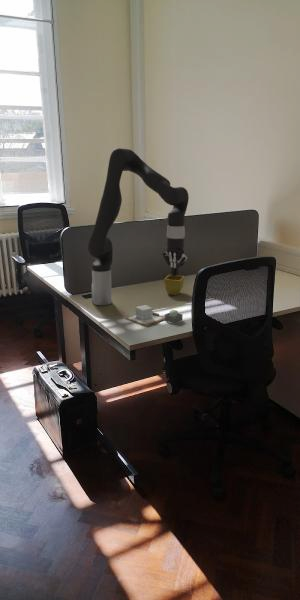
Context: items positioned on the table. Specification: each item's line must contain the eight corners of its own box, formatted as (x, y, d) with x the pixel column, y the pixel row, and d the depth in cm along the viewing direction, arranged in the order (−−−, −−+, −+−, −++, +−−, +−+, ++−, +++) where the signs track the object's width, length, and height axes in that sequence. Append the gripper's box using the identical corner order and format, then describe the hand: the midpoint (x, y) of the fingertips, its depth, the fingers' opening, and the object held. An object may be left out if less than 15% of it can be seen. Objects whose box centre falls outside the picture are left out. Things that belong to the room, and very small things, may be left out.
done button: (167, 319, 194) (168, 311, 193) (173, 317, 197) (173, 309, 195) (174, 322, 192) (174, 313, 190) (179, 319, 194) (179, 311, 193)
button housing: (164, 320, 194) (164, 314, 193) (172, 317, 198) (172, 311, 197) (174, 323, 191) (174, 317, 190) (182, 320, 194) (182, 314, 193)
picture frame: (124, 318, 196) (124, 316, 195) (144, 311, 205) (144, 309, 205) (147, 327, 187) (147, 324, 187) (166, 318, 196) (166, 316, 196)
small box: (152, 318, 195) (152, 307, 194) (142, 320, 192) (142, 310, 190) (145, 314, 200) (145, 304, 198) (135, 316, 196) (135, 306, 195)
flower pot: (179, 297, 226) (180, 280, 223) (163, 295, 229) (164, 278, 226) (183, 292, 234) (184, 276, 231) (168, 290, 236) (168, 274, 234)
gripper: (158, 235, 183) (157, 274, 189) (182, 239, 175) (181, 280, 181) (169, 233, 189) (168, 271, 194) (193, 237, 180) (192, 276, 186)
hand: (174, 275), depth 187 cm, fingers closed
